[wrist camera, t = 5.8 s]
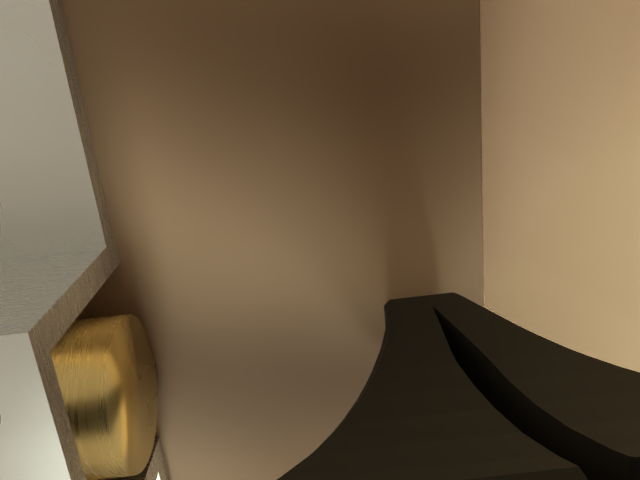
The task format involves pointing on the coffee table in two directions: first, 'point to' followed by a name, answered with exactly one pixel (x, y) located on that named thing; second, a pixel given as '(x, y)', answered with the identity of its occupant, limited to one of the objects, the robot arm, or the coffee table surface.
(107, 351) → the pin
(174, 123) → the board
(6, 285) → the hinge leaves
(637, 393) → the robot arm
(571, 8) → the coffee table surface
